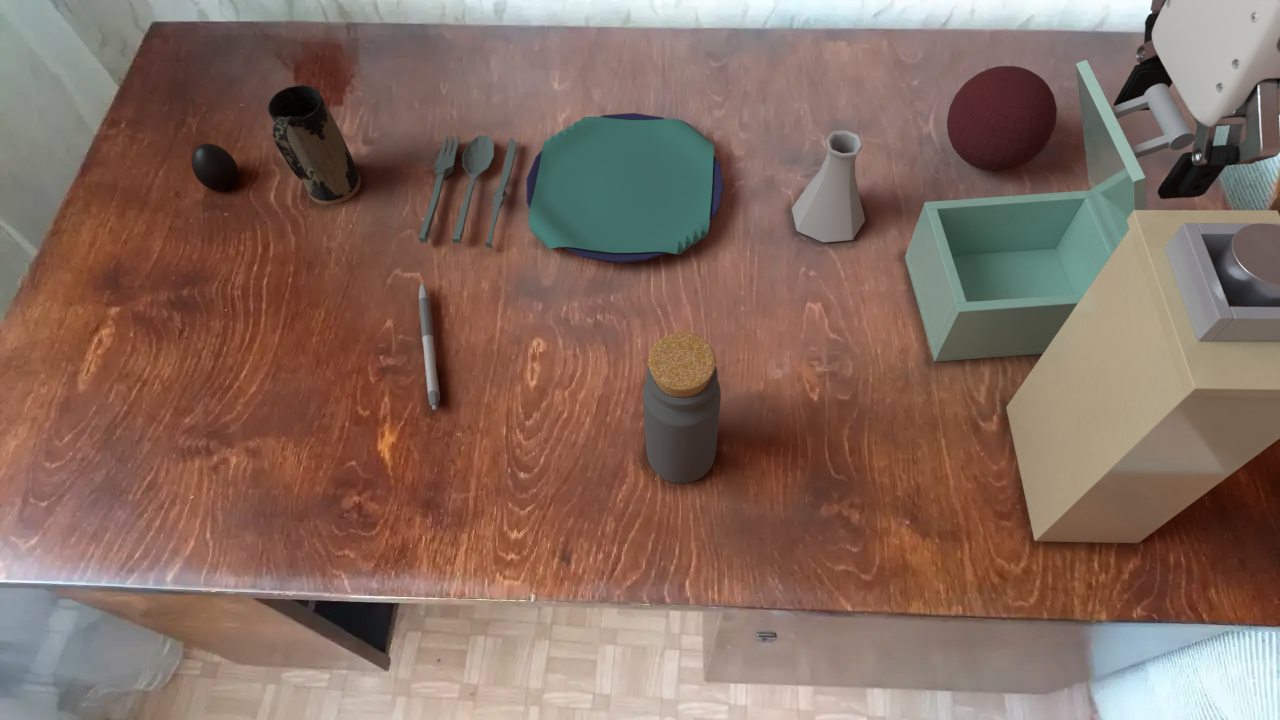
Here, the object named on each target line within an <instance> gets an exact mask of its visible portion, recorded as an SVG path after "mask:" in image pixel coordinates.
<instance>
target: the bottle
mask: <svg viewBox="0 0 1280 720" xmlns="http://www.w3.org/2000/svg"><path fill="white" fill-rule="evenodd" d="M647 363H648V365H647V368H646V379H645V381H644V384H643V387H642V407H643V408H642V410H643V423H644V424H643V426H644V437H645V451H646V457H647V461H648V464H649V466H650V468H651V469H652V471H653V472H654V473H655V474H656V475H657V476H659V477H660V478H661V479H663V480H665V481H666V482H669V483H674V484H689V483H692V482H693V483H694V482H696V481H698V480H701V478H703V477H705V475H707V474H708V472H709V471H710V470H711V468H712V466H713V465H714V462H715V459H716V453H717V445H718V435H719V425H720V424H719V423H720V412H721V402H722V401H721V399H722V398H721V397H722V396H721V395H722V392H721V391H722V389H721V385H720V382H719V380H718V375H719V374H718V367H717V358H716V354H715V351H714V349H713V347H712V346H711V344H710V343H709V342H708V341H707V340H705V339H704V338H703V337H701V336H699V335H697V334H695V333H691V332H673V333H669V334H667V335H665V336H663V337H661V338H660V339H658V340H657V341H656V342H655V343H654V345H652V347H651V349H650V352H649V354H648V362H647Z"/></svg>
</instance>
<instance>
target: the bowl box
mask: <svg viewBox="0 0 1280 720" xmlns="http://www.w3.org/2000/svg"><path fill="white" fill-rule="evenodd" d="M1115 249H1116V247H1115V244H1114V242H1113V240H1112V238H1111V235H1110V233H1109V231H1108V229H1107V226H1106V224H1105V222H1104V220H1103V218H1102V215H1101V213H1100V211H1099V209H1098V206H1097V204H1096V202H1095V200H1094V197H1093V195H1092V193H1091V191H1090V189H1088V190H1073V191H1072V190H1071V191H1061V192H1060V191H1059V192H1045V193H1032V194H1018V195H1017V194H1016V195H1004V196H1003V195H1002V196H989V197H976V198H975V197H974V198H962V199H949V200H934V201H933V200H932V201H924V204H923V207H922V208H921V211H920V214H919V217H918V220H917V223H916V225H915V228H914V231H913V233H912V236H911V238H910V242H909V244H908V246H907V250H906V253H905V255H904V261H905V264H906V267H907V270H908V274H909V277H910V282H911V284H912V288H913V292H914V295H915V299H916V303H917V306H918V309H919V313H920V316H921V317H920V318H921V320H922V324H923V327H924V331H925V334H926V338H927V341H928V345H929V348H930V352H931V356H932V359H933V362H935V363H936V362H950V361H962V360H963V361H964V360H976V359H977V360H979V359H991V358H1003V357H1004V358H1005V357H1006V358H1007V357H1018V356H1019V357H1020V356H1032V355H1043V353H1044V352H1045V350H1046V349H1047V347H1048V346H1049V344H1050V343H1051V342H1052V340H1053V339H1054V337H1055V336H1056V334H1057V333H1058V331H1059V330H1060V329H1061V327H1062V326H1063V324H1064V323H1065V321H1066V320H1067V318H1068V317H1069V316H1070V314H1071V313H1072V311H1073V310H1074V308H1075V307H1076V305H1077V304H1078V303H1079V301H1080V300H1081V298H1082V297H1083V295H1084V294H1085V292H1086V291H1087V290H1088V288H1089V287H1090V285H1091V284H1092V282H1093V281H1094V279H1095V278H1096V277H1097V275H1098V274H1099V272H1100V271H1101V269H1102V268H1103V266H1104V265H1105V264H1106V262H1107V261H1108V259H1109V258H1110V256H1111V255H1112V253H1113V252H1114V250H1115Z"/></svg>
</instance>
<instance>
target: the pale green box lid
mask: <svg viewBox="0 0 1280 720" xmlns="http://www.w3.org/2000/svg"><path fill="white" fill-rule="evenodd" d="M1075 69H1076V78H1077V87H1078V96H1079V97H1078V98H1079V105H1080V114H1081V115H1080V116H1081V125H1082V131H1083V132H1082V134H1083V144H1084V151H1085V161H1086V170H1087V179H1088V188H1089V190H1090V191H1091V193H1092V195H1093V197H1094V200H1095V202H1096V204H1097V206H1098V209H1099V211H1100V213H1101V215H1102V218H1103V220H1104V222H1105V224H1106V226H1107V229H1108V231H1109V233H1110V235H1111V238H1112V240H1113V242H1114V244H1115V247H1116V248H1117V246H1118V245H1119V243H1120V242H1121V240H1122V239H1123V237H1124V236H1125V235H1126V233H1127V232H1128V230H1129V227H1128V224H1127V219H1128V217H1129V216H1130V214H1131V213H1132V211H1133V210H1147V179H1146V178H1147V177H1146V175H1145V172H1144V171H1143V169H1142V167H1141V165H1140V163H1139V160H1138V159H1139V158H1142V157H1145V156H1148V155H1151V154H1154V153H1157V152H1159V151H1163V150H1165V149H1171V150H1172V151H1178V150H1183V149H1185V148H1188V147H1189V146H1190V145H1192V144H1193V143H1194V140H1195V135H1196V134H1195V132H1194V131H1193V129H1192V126H1190V123H1189V122H1188V120H1187V119H1186V118H1187V117H1185V115H1184V113H1183V111H1182V109H1181V107H1180V105H1179V104H1178V102H1177V100H1176V99H1175V96H1174V95H1173V93H1172V92H1171V89H1170V87H1169V88H1168V86H1167V85H1166V84H1156V85H1154V86H1152V87H1150V88H1149V89H1148V90H1147V91H1146V92H1145V93H1144V95H1143V96H1140V97H1138V98H1135V99H1132V100H1130V101H1127V102H1124V103H1121V104H1119V105H1116V106H1114V105H1113V106H1111V104H1110V101H1108V99H1107V96H1106V94H1105V93H1104V90H1103V88H1102V86H1101V85H1100V83H1099V80H1098V78H1097V76H1096V74H1095V72H1094V71H1093V69H1092V66H1091V64H1090V62H1089V60H1088V59H1084V60H1082V61H1079V62H1076V64H1075ZM1147 107H1149V109H1150V110H1149V111H1150V113H1151V115H1152V117H1153V119H1154V121H1155V122H1156V125H1157V126H1158V128H1159V130H1160V132H1161V134H1162V135H1161V136H1158V137H1154V138H1152V139H1149V140H1146V141H1143V142H1141V143H1138V144H1135V145H1132V146H1131V144H1130V142H1129V140H1128V139H1127V137H1126V135H1125V132H1124V131H1123V128H1122V126H1121V124H1120V123H1119V120H1118V119H1119V118H1123V117H1125V116H1128V115H1130V114H1133V113H1136V112H1140V111H1139V110H1142V109H1144V108H1147ZM1142 111H1143V110H1142Z"/></svg>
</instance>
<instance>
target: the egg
mask: <svg viewBox="0 0 1280 720" xmlns="http://www.w3.org/2000/svg"><path fill="white" fill-rule="evenodd" d="M191 168H192V172H193V174H194V176H195V178H196V179H197V180H198V182H199V183H200V184H201V185H203V186H204V187H206V188H207V189H209V190H210V191H215V192H224V191H228V190H229V189H232V187H234V186H235V185H236V183H237V181H238V178H239V168H238V165H237V162H236V160H235V159H234V157H233V156H232V155H231V154H230V153H229V152H228V151H227V150H226V149H224V148H223V147H222V146H219V145H218V144H213V143H208V142H207V143H206V142H205V143H201V144H199V145H197V146H196V147H195V149H194V150H193V152H192V155H191Z"/></svg>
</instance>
